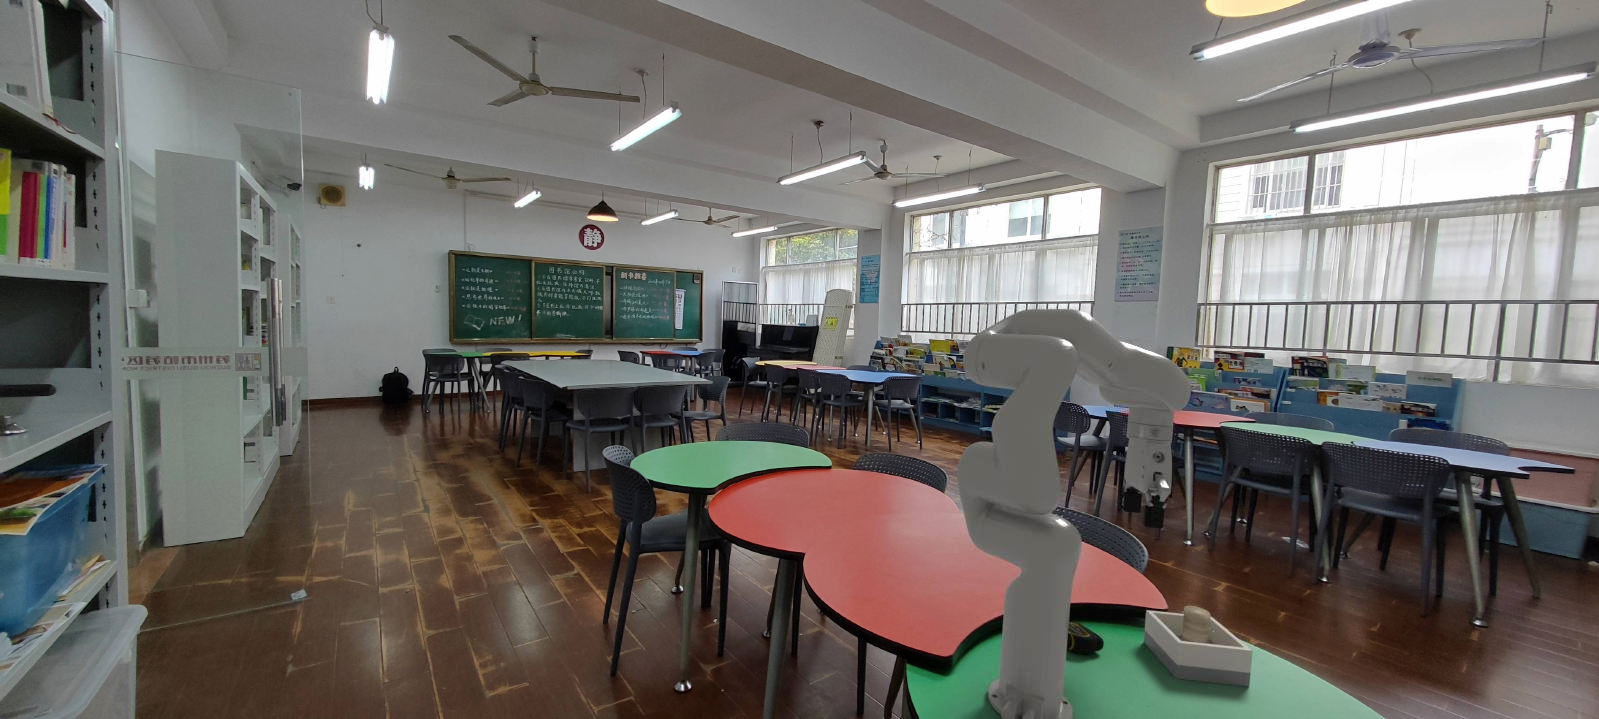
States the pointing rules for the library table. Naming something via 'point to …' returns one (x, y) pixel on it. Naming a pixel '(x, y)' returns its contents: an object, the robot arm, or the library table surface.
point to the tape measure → (1083, 639)
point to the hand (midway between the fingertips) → (1141, 519)
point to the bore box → (1198, 651)
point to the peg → (1195, 625)
